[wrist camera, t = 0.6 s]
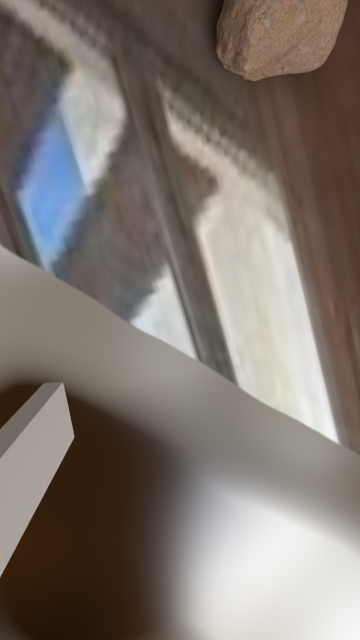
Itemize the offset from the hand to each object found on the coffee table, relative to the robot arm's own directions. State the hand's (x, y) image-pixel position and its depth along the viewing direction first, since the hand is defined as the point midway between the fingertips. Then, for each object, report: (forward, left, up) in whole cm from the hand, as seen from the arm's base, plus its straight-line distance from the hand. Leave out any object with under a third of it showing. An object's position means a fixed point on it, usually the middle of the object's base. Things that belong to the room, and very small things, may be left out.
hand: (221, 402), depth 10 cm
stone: (-28, +10, -27) cm, 40 cm away
